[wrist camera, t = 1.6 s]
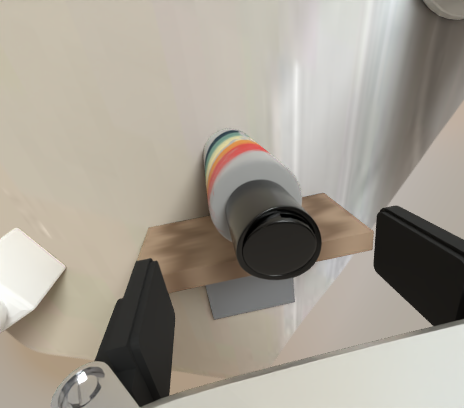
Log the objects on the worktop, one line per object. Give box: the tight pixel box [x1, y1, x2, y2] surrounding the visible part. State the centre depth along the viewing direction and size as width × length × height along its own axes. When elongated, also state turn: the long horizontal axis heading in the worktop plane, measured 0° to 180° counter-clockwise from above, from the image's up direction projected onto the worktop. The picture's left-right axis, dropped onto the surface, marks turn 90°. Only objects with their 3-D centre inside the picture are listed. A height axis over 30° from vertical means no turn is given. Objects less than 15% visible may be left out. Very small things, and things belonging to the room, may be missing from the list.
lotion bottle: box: [203, 129, 322, 280], centre depth 20 cm, size 6×6×20 cm
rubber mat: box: [205, 276, 295, 320], centre depth 36 cm, size 12×12×1 cm
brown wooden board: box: [137, 193, 374, 293], centre depth 28 cm, size 22×2×10 cm, turn 99°
